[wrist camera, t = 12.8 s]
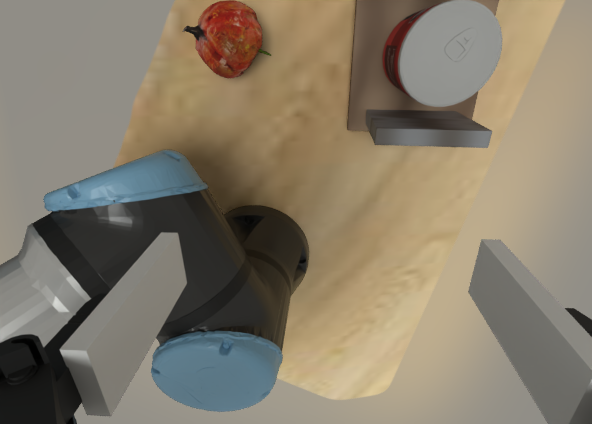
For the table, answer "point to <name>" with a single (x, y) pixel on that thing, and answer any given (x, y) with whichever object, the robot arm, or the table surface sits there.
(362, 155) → the table surface
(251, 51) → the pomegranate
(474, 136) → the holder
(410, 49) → the canned food
